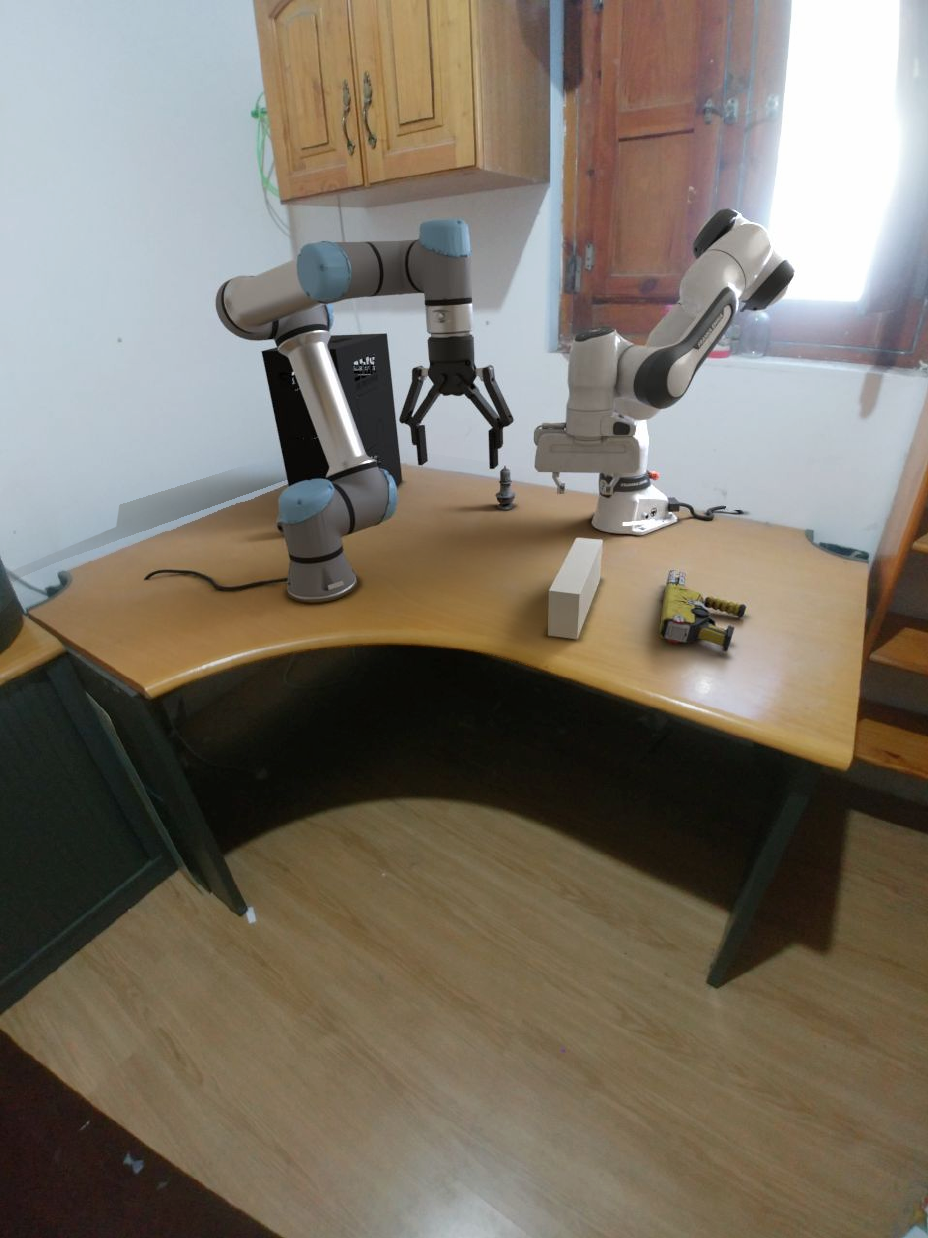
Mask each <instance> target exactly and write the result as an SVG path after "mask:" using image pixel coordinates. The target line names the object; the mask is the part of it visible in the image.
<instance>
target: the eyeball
mask: <svg viewBox="0 0 928 1238" xmlns="http://www.w3.org/2000/svg"><path fill="white" fill-rule="evenodd" d="M275 527H276V529H277V530H278V531H279V532H280V533H281V534H282V535H284V531H283V527H282V522H281V520H280V517H279V515H278V516H277V517H276V520H275Z"/></svg>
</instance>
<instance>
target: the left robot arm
mask: <svg viewBox="0 0 928 1238" xmlns="http://www.w3.org/2000/svg"><path fill="white" fill-rule="evenodd" d="M418 229H419V230H418V231H419V234H418V239H406V240H405V239H404V240H376V241H329V240H322V241H317V242H310V243H306V244H304V245H303V246H302V247H301V248H300V251H299V254H297V257H296V258H294V259H292V260H289V261H287V262H284V263H282V264H280V265H278V266H275V267H273V268H270V269H268V270H265V271H264V272H261V273H259V274H256V275H238V276H235V277H233V278H230V279H228V280H226V281H225V282H224V283H222V284H221V285H220V287H219V288H218V290H217V292H216V295H215V304H214V305H215V312H216V314H217V316H218V318H219V320H220V322H221V323H222V325H223V326H224V328H225V329H227V330H228V331H229V332H230V333H232V334H233V335H234V336H236V337H238V338H241V339H243V340H247V341H254V342H256V341H257V342H259V341H269V340H271V341H272V340H273V341H274V343H275V346H276V347H277V348H278V351H279V352H280V353H281V354H283V355H285V356H287V357H288V358H289V360H290V363H291V366H292V368H293V371H294V372H293V375H294V374H295V376H296V379H297V382H298V384H299V387H300V390H301V392H302V395H303V398H304V400H305V403H306V406H307V408H308V411H309V414H310V416H311V419H312V422H313V424H314V427H315V430H316V432H317V435H318V438H319V440H320V443H321V446H322V448H323V451H324V454H325V456H326V459H327V462H328V464H329V471H328V473H327V475H326V479H327V480H326V479H312V480H309V481H308V480H305V481H301V482H298V483H296V484H293V485H291V486H289V485H288V487H286V488H285V489H284V490H283V491H282V492H281V493H280V495H279V497H278V499H277V504H278V516H279V517H280V520H281V522H282V527H283V531H284V534H283V536H284V540H285V545H286V549H287V553H288V558H289V565H288V573H287V577H283V578H282V577H281V578H274V579H267V580H261V581H255V582H250V583H246V584H241V585H236V586H235V585H234V586H223V585H222V586H221V585H219V584H218V583H216V581H214V579H213V578H211V577H210V576H207V575H206V574H203V573H201V572H198V571H194V570H188V569H187V570H185V569H157V570H154V571H152V572H149V573H148V574H147V575H146V576H145V577H144V578H143V580H144V581H148V580H149V579H150V578H151V577H153V576H156V575H159V574H187V575H194V576H197V577H199V578H202V579H205V580H207V581H208V582H209V583H211V584H210V585H212V586H213V587H214V588H216V589H218V590H220V591H222V590H223V591H238V590H243V589H247V588H252V587H256V586H261V585H268V584H269V585H270V584H276V583H284V582H285V583H286V590H287V594H288V596H289V598H290V599H292V600H293V601H296V602H298V603H303V604H323V603H324V604H325V603H329V602H333V601H336V600H339V599H343V598H344V597H346V596H348V595H349V594H351V593H352V592H353V591H354V590H355V589H356V588H357V585H358V581H357V575H356V573H355V570H354V569H353V568H352V566H351V565H350V562H349V560H348V558H347V556H346V554H345V552H344V545H343V540H342V538H343V537H346V536H349V535H352V534H355V533H358V532H361V531H362V530H366V529H368V528H371V527H376V526H379V525H380V524H382V523H384V522H387V521H388V520H390V519H391V518H392V517H394V515H395V512H396V510H397V506H398V503H399V494H398V489H397V487H396V484H395V481H394V479H393V477H392V476H391V475H389V472H387V471H386V470H384V469H380V468H378V466H377V463H376V460H374V459H373V457H372V456H371V457H369V456H367V455H366V453H365V450H364V447H363V444H362V441H361V439H360V436H359V433H358V430H357V428H356V425H355V422H354V419H353V416H352V414H351V411H350V408H349V405H348V402H347V400H346V397H345V394H344V391H343V389H342V386H341V383H340V380H339V377H338V375H337V372H336V369H335V366H334V364H333V361H332V358H331V355H330V352H329V350H328V347H327V344H328V342H329V339H330V337H331V335H332V334H331V331H330V330H331V329H332V327H333V325H334V319H335V316H334V315H333V313H334V307H333V304H334V303H338V302H341V301H345V300H351V299H358V298H360V299H361V298H372V297H383V296H384V297H386V296H398V295H399V296H401V295H410V294H411V295H412V294H413V295H414V294H423V295H424V309H425V323H426V324H425V325H426V332H427V334H429V335H430V336H428V339H427V354H428V363H429V365H428V366H429V367H424V366H423V365H418V366H415V367H413V368H412V369H411V383H410V385H409V389H408V392H407V395H406V398H405V400H404V404H403V407H402V410H401V413H400V415H399V419H398V420H399V423H400V424H405V425H407V426H408V427H409V429H410V438H411V444H412V446H416V447H415V448H416V456H417V466H423V465H425V464H426V463H427V462H428V461H429V459H428V446H427V445H428V444H427V434H426V433H427V432H426V424H422V421H423V420H424V418H425V417H426V416H427V414H428V412H429V411H430V410H431V408H432V407H433V405H434V404H435V402H436V401H437V399H438V398H439V397H440V395H442V396H443V397H449V396H454V397H461V396H465V397H466V398H467V399H468V400H470V401H471V403H472V404H473V405H474V406H475V408H476V409H477V411H479V413H480V414H481V415H482V417H483V418H484V419H485V420H486V422H487V423H488V424H489V426H490V427H491V428H490V429H489V430H488V431H487V433H488V434H487V435H488V463H489V465H488V466H489V467H488V468H489V470H495V469H496V468H497V467H498V466H499V450H500V449H501V448H502V447H503V445H504V428H507V427H509V426H511V424H513V423H514V421H515V420H514V416H513V414H512V412H511V410H510V407H509V406H508V403H507V401H506V399H505V397H504V395H503V393H502V391H501V389H500V386H499V385H498V382H497V380H496V374H495V369H494V366H493V365H491V364H488V365H487V366H484V367H478V368H477V366H476V363H475V357H476V356H475V337H474V336H473V334H471V332H472V331H473V330H474V312H473V310H474V309H473V294H472V293H473V291H472V289H473V287H472V249H471V240H470V230H469V225H468V223H467V222H466V221H465V220H463V219H461V218H460V219H459V218H456V219H455V218H447V219H446V218H445V219H433V220H425V221H423V222H421V223H420V225H419V228H418ZM477 377H478V378H479V380H480V381H481V382H483V384H484V388H485V390H486V392H487V394H488V396H489V398H490V400H491V402H492V404H493V406H494V408H493V407H492V405H491V404H490V403H489V402H488V401H487V399H486V398H485V397H484V396H483V394H482V393H481V391H480V388H479V387H478V386H477V385H476V384H475V380H476V379H477ZM427 378H429V380H430V381H431V382H432V386H431V387H430V389H429V391H428V392H427V394H426V396H425V397H424V399H423V400H422V402H421V404H420V405H419V406H418V408H417V410H416V411H415V409H416V406H417V404H418V400H419V397H420V395H421V391H422V388H423V386H424V382H425V381H426V380H427ZM494 409H495V410H496V411H495V410H494ZM414 411H415V412H414Z"/></svg>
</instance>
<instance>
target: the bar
mask: <svg viewBox="0 0 928 1238" xmlns="http://www.w3.org/2000/svg"><path fill="white" fill-rule="evenodd" d="M603 544H604V543H603V539H597V538H586V537H575V539H574V541H573V543H572V545H571V547H570V550H569V551H568V553H567V555H566V556H565V559H564V560H563V563H562V564H561V566H560V568H559V570H558V572H557V574H556V576H555V578H554V580H553V582H552V583H551V585H550V588H549V590H548V612H547V613H548V614H547V615H548V616H547V618H548V620H547V635H548V636H549V637H557V638H564V639H571V640H578V639H579V637H580V634H581V631H582V628H583V626H584V623H585V621H586V618H587V616H588V613H589V610H590V608H591V605H592V602H593V600H594V597H595V594H596V592H597V589H598V586H599V584H600V582H601V571H602V557H603Z"/></svg>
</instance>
